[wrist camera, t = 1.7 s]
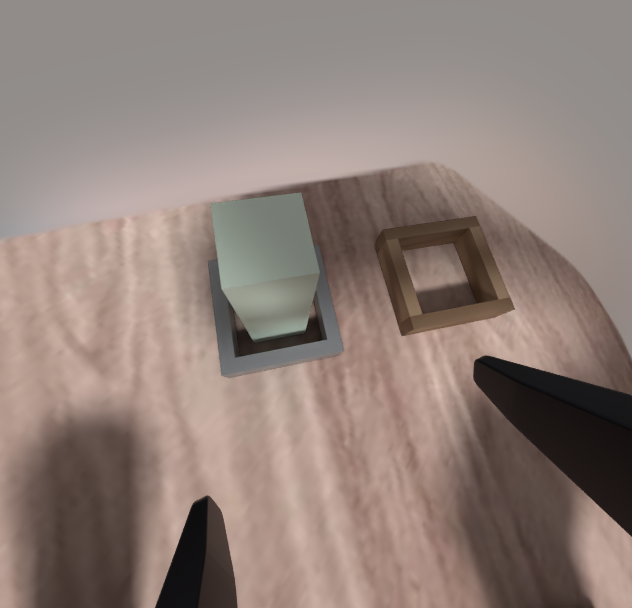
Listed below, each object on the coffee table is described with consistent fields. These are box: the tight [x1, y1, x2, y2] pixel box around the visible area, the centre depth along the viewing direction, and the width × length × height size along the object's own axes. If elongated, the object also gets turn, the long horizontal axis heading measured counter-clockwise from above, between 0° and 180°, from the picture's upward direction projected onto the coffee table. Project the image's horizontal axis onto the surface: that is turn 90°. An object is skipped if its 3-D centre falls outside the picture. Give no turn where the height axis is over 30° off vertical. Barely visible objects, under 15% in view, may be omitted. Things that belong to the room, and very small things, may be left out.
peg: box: [211, 193, 320, 343], centre depth 18 cm, size 4×4×12 cm
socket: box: [208, 245, 344, 378], centre depth 23 cm, size 8×8×2 cm
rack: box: [375, 216, 515, 336], centre depth 25 cm, size 8×8×2 cm
